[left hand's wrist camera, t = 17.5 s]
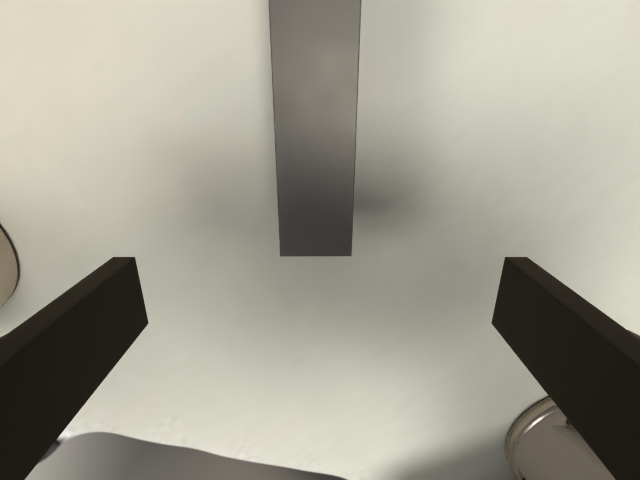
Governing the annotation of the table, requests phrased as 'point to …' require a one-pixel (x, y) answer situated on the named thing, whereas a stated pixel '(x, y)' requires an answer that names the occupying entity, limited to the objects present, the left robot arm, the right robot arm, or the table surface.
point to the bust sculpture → (7, 269)
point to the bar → (315, 122)
